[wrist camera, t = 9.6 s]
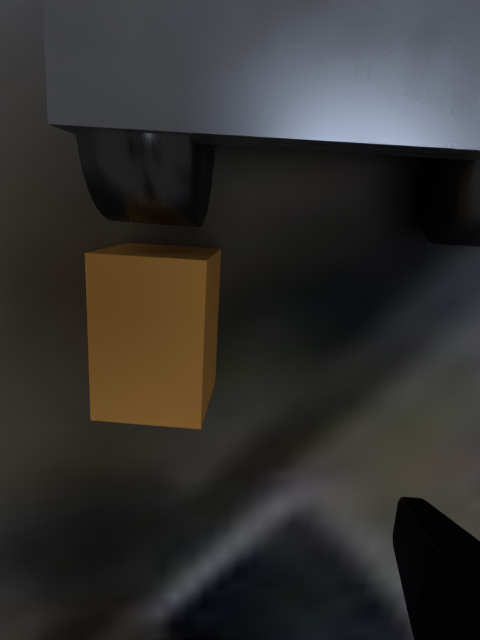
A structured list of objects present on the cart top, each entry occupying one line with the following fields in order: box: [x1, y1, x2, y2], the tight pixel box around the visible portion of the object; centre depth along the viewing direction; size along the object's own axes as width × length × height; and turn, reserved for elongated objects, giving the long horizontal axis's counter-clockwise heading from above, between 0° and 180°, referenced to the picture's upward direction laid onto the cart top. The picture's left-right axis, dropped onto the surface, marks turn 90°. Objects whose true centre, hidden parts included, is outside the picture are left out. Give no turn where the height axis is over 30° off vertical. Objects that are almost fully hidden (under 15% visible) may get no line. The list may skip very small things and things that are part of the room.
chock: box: [85, 243, 221, 429], centre depth 17 cm, size 6×4×4 cm, turn 177°
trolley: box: [42, 0, 480, 247], centre depth 13 cm, size 13×15×6 cm
